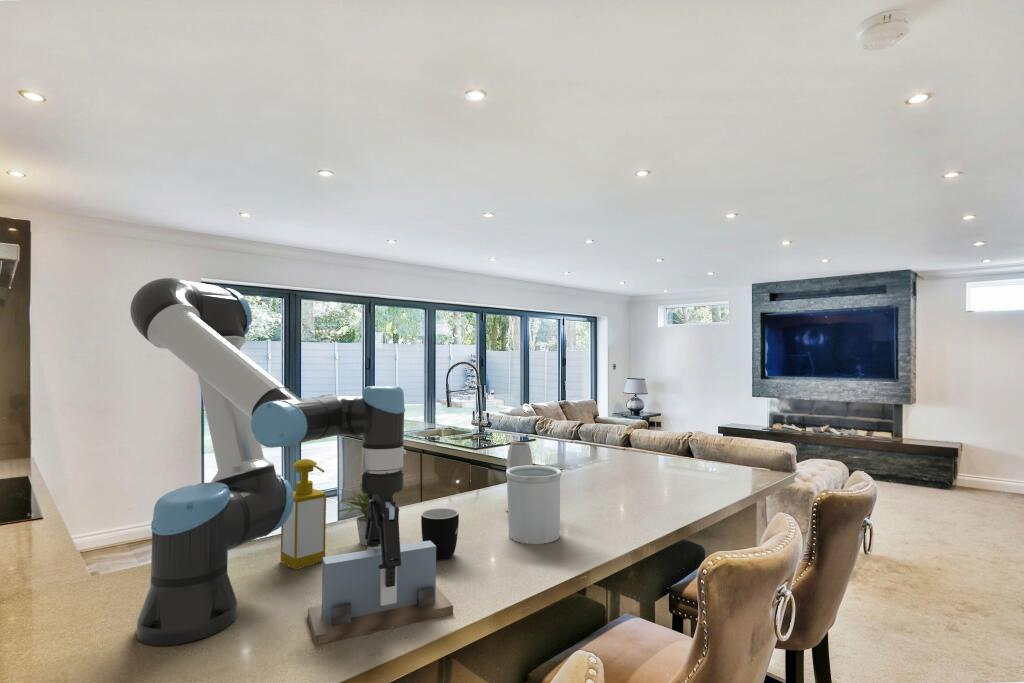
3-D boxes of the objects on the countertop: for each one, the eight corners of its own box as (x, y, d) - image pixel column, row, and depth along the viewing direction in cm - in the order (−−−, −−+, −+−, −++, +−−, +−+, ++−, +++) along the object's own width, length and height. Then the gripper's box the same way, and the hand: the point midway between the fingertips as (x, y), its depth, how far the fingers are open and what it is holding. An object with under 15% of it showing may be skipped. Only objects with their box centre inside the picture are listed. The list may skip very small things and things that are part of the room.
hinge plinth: (315, 645, 86) (315, 617, 86) (307, 616, 96) (308, 591, 96) (453, 613, 97) (453, 588, 97) (433, 590, 107) (433, 568, 107)
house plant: (352, 531, 144) (353, 471, 145) (402, 532, 144) (403, 471, 145) (332, 549, 130) (334, 483, 131) (388, 550, 130) (389, 483, 130)
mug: (461, 560, 123) (461, 516, 124) (422, 564, 121) (423, 519, 121) (453, 543, 135) (453, 503, 135) (417, 547, 133) (418, 506, 133)
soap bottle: (306, 576, 114) (308, 466, 115) (280, 561, 123) (282, 459, 124) (336, 567, 119) (338, 462, 120) (310, 553, 128) (312, 455, 129)
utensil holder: (532, 550, 131) (532, 478, 132) (494, 535, 142) (494, 469, 143) (572, 537, 141) (572, 471, 141) (534, 524, 152) (534, 463, 152)
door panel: (324, 623, 90) (325, 564, 91) (321, 614, 94) (322, 557, 94) (435, 599, 100) (436, 546, 100) (429, 592, 103) (430, 540, 103)
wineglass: (533, 515, 161) (533, 445, 162) (505, 514, 161) (505, 445, 162) (532, 507, 170) (533, 441, 171) (505, 507, 170) (506, 441, 171)
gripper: (421, 479, 90) (419, 613, 89) (387, 458, 109) (386, 567, 109) (376, 483, 86) (374, 623, 85) (350, 461, 106) (348, 573, 105)
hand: (381, 591), depth 97 cm, fingers open, 10 cm apart
